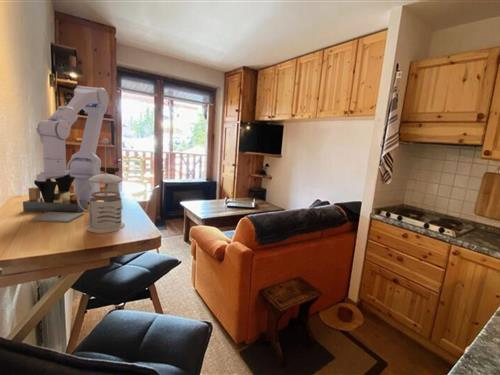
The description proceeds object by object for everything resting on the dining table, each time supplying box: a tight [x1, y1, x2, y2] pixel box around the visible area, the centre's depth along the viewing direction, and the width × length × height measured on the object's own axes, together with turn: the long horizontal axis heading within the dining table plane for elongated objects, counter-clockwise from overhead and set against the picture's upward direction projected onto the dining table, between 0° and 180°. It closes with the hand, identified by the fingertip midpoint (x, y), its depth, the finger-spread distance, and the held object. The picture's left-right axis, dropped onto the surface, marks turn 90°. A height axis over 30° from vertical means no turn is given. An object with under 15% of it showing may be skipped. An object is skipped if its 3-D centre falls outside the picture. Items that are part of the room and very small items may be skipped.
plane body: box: [22, 186, 89, 213], centre depth 82 cm, size 6×16×7 cm, turn 97°
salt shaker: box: [102, 175, 123, 218], centre depth 81 cm, size 6×6×13 cm
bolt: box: [100, 165, 120, 189], centre depth 88 cm, size 6×5×15 cm
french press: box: [77, 138, 126, 234], centre depth 69 cm, size 10×12×25 cm
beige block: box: [41, 190, 71, 203], centre depth 82 cm, size 4×6×3 cm
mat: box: [30, 212, 84, 223], centre depth 75 cm, size 8×10×1 cm
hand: (56, 199), depth 82 cm, fingers open, 7 cm apart
